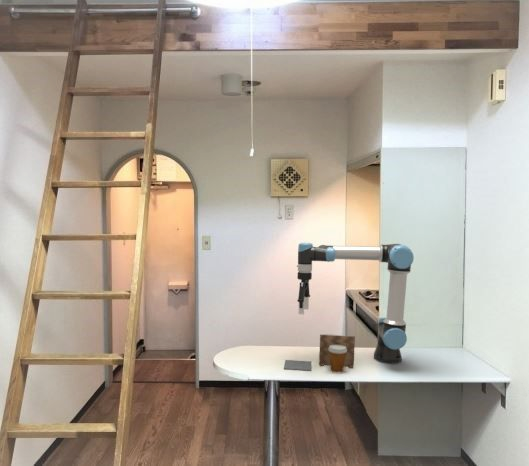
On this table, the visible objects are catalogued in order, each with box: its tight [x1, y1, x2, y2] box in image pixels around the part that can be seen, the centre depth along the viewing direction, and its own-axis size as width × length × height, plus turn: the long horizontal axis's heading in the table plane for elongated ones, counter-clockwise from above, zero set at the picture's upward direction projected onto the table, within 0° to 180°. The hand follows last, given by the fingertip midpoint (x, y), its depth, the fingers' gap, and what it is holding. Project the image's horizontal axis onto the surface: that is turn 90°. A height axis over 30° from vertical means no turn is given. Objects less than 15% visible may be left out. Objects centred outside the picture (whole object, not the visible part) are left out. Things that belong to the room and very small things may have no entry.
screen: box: [318, 334, 356, 369], centre depth 256 cm, size 18×5×16 cm, turn 84°
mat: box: [283, 359, 312, 372], centre depth 254 cm, size 14×14×1 cm
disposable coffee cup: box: [328, 345, 347, 373], centre depth 249 cm, size 10×10×12 cm
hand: (303, 311), depth 259 cm, fingers open, 13 cm apart
